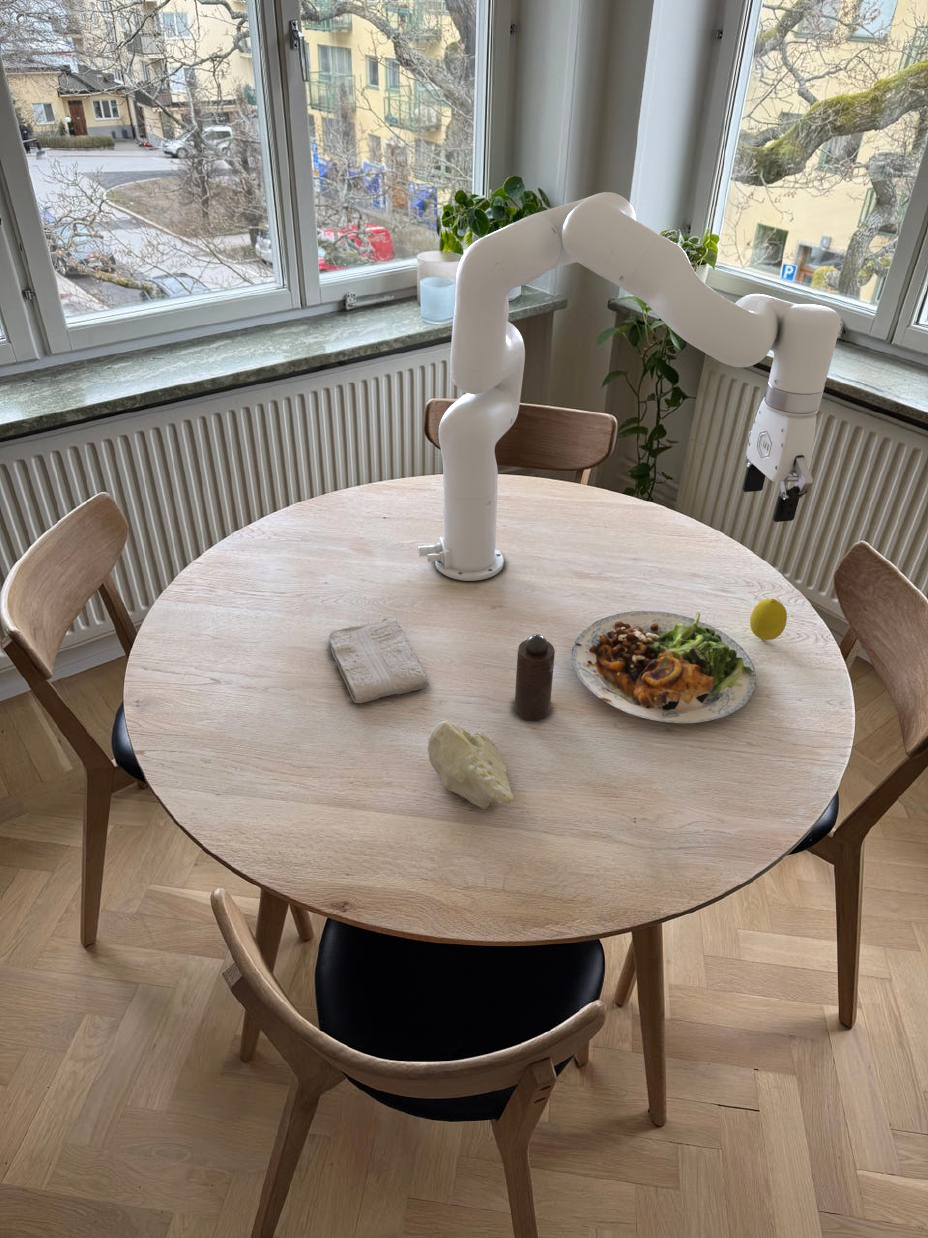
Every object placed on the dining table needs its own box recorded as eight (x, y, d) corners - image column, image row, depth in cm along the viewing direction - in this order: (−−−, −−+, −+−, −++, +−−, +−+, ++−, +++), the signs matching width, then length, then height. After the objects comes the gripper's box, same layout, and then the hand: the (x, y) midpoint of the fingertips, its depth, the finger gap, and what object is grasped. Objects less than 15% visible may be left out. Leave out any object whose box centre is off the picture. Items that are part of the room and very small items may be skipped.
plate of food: (760, 642, 147) (768, 611, 143) (746, 753, 125) (755, 720, 122) (592, 609, 154) (595, 579, 151) (551, 708, 133) (554, 676, 129)
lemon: (777, 631, 150) (787, 590, 145) (783, 651, 145) (794, 610, 140) (743, 629, 150) (752, 588, 145) (748, 648, 145) (758, 607, 141)
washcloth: (394, 626, 149) (393, 611, 148) (431, 690, 136) (431, 674, 134) (324, 641, 146) (322, 626, 144) (355, 709, 132) (354, 693, 130)
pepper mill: (519, 723, 130) (524, 649, 122) (510, 700, 134) (514, 628, 127) (554, 718, 131) (560, 645, 123) (544, 695, 135) (549, 623, 128)
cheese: (433, 754, 127) (389, 756, 113) (465, 714, 126) (424, 711, 112) (512, 829, 122) (475, 841, 108) (546, 789, 121) (514, 795, 107)
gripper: (740, 377, 134) (719, 482, 143) (800, 422, 120) (772, 535, 130) (786, 374, 135) (762, 478, 145) (850, 419, 121) (819, 530, 131)
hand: (767, 505), depth 137 cm, fingers open, 9 cm apart
